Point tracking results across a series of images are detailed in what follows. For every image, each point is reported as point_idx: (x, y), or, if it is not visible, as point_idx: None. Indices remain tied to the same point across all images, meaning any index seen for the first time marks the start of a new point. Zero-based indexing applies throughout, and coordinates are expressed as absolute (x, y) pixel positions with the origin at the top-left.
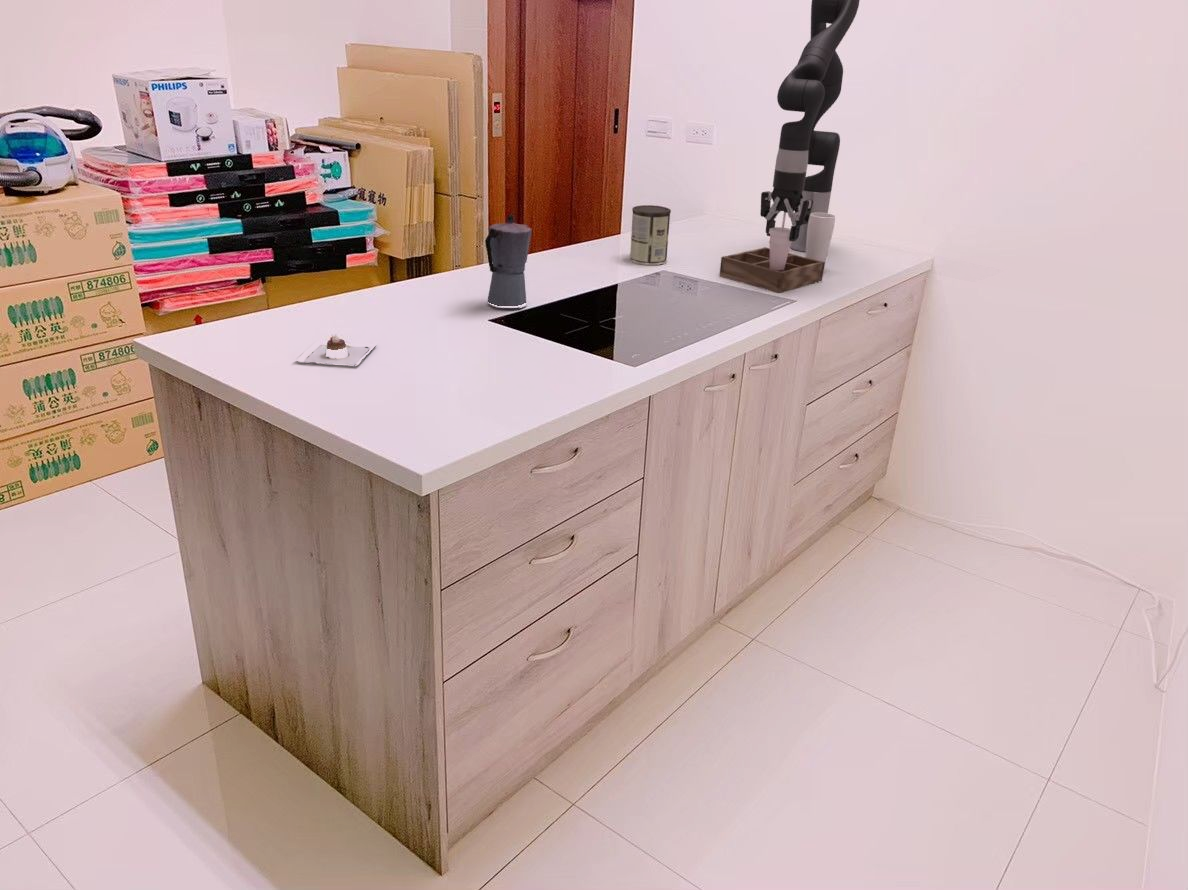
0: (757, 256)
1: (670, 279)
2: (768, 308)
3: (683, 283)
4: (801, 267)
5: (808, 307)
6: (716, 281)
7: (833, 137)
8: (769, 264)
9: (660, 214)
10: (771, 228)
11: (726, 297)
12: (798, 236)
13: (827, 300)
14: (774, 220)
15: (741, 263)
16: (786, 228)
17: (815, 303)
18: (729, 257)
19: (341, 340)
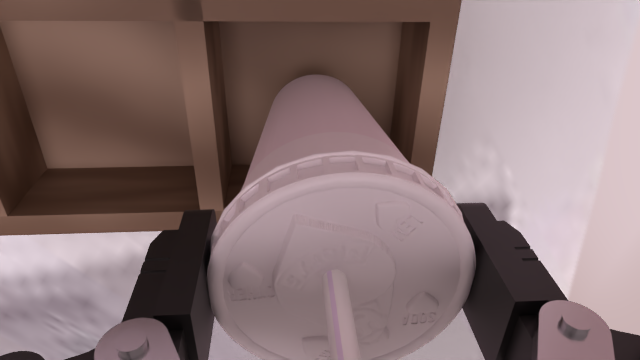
0: (49, 19)
1: (19, 349)
2: (466, 324)
3: (89, 346)
4: (446, 21)
5: (575, 222)
6: (118, 245)
7: None
8: (211, 60)
9: None
10: (227, 315)
11: None
12: (521, 237)
13: (618, 82)
14: (176, 319)
15: (148, 226)
16: (317, 189)
17: (583, 162)
18: (1, 191)
19: None
